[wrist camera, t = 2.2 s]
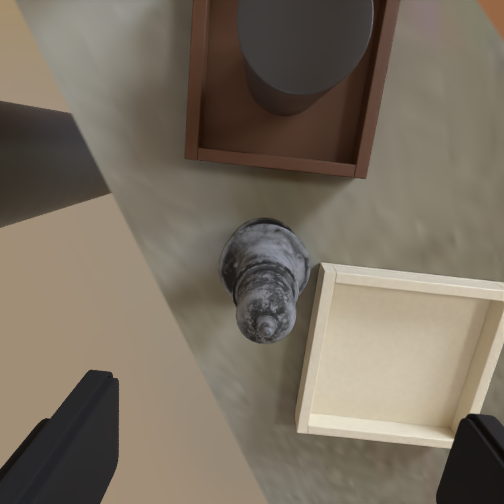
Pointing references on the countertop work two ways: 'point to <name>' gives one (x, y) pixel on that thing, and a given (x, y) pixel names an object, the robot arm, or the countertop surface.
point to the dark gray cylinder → (300, 48)
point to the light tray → (398, 354)
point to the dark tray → (275, 126)
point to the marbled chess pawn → (264, 278)
